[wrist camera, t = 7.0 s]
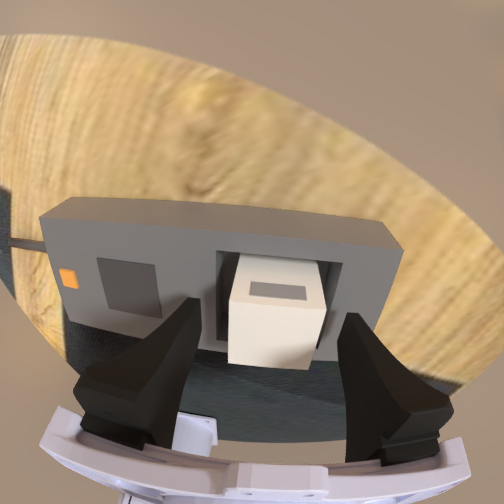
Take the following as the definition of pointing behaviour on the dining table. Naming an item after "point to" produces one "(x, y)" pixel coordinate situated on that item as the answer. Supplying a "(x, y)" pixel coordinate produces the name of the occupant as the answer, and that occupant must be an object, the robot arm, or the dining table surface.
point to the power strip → (204, 262)
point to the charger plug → (275, 312)
